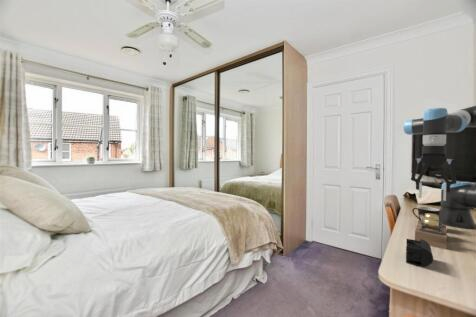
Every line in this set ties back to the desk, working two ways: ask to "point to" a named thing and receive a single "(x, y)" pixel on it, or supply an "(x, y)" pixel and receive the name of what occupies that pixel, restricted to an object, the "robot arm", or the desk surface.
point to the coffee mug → (425, 210)
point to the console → (432, 234)
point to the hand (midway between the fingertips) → (431, 198)
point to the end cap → (418, 253)
